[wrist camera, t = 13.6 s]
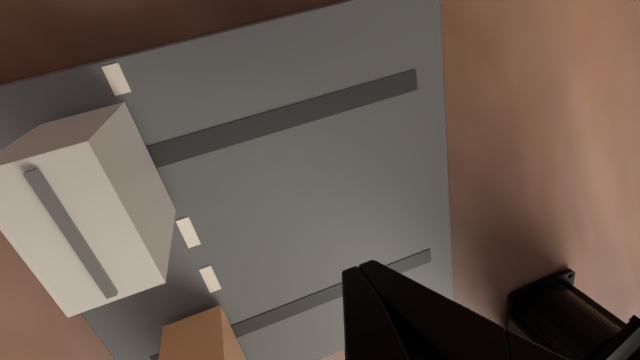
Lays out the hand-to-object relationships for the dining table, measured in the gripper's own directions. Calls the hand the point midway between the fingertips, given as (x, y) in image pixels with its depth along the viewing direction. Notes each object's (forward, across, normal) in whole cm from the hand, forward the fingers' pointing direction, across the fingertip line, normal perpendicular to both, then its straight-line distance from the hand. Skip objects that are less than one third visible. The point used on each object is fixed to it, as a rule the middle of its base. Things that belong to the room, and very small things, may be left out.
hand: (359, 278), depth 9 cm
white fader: (+9, +7, -2) cm, 11 cm away
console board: (+12, +1, +4) cm, 13 cm away
